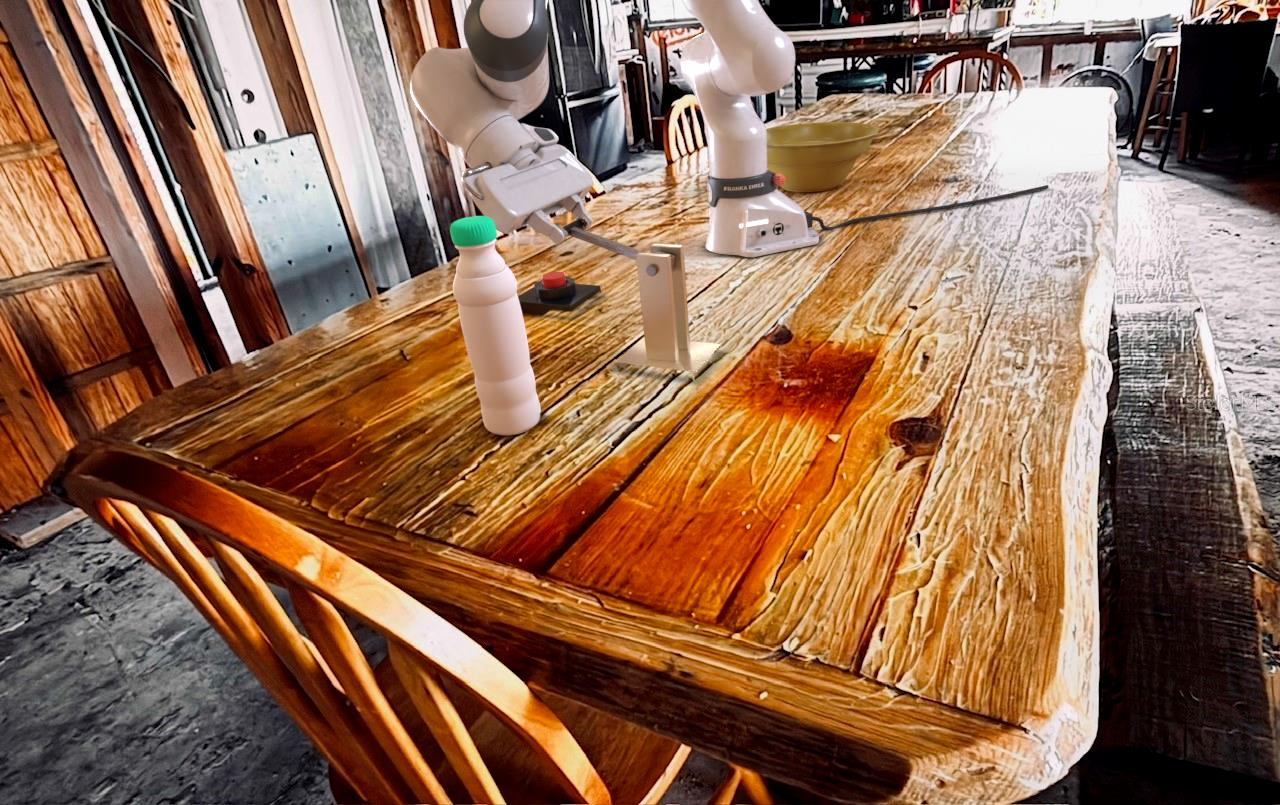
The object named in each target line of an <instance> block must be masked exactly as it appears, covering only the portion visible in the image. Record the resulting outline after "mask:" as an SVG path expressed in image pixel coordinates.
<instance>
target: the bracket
mask: <svg viewBox="0 0 1280 805" xmlns="http://www.w3.org/2000/svg"><path fill="white" fill-rule="evenodd" d="M656 249H657V250H660V251H663V252H666V253H669V254H652V252H654V251H655V250H656ZM684 249H685V248H684V245H683V244H668V243H667V244H665V243H652V244H651V245H649V250H650V252H649V253H648V252H646V253H639V254H637V255H636V260H635V261H636V269H637V278H638V288H639V298H640V307H641V317H642V328H643V336H642V337H641V338H640V339H639V340H638V341H637V342H636V343H635V344H634V345H632V346H631V348H629V349H628V350H627V351H625V353H623V354H622V355H621V356H620V357H619V358H618V359H617V360H615V363H620V364H627V365H628V364H629V365H638V366H645V367H652V368H659V369H667V370H675V371H682V372H689V373H697V372H698V371H699V370H700V369H701V368H702V367H703V365H704V364H706V362H707V361H708V360H709V359H710V358H711V357H712V356H713V355H714V353H716V351H717V350H718V349H719V348H720V346H721V345H722V344H720V343H711V342H703V341H702V342H701V341H692V340H691V337H690V336H691V335H690V324H689V323H690V322H689V308H688V296H687V295H688V294H687V293H688V292H687V278H686V266H685V251H684ZM670 254H671V255H674V256H676V257H675V262H674V267H673V272H672V268H671V255H670Z"/></svg>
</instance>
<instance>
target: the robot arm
mask: <svg viewBox="0 0 1280 805" xmlns="http://www.w3.org/2000/svg"><path fill="white" fill-rule="evenodd" d="M548 2H549V0H471V2H470V3H469V5H468V7H467V9H466V11H465V14H464V19H463V35H464V39H465V42H466V45H467V47H463V48H462V47H461V48H444V47H440V46H435V47H432V48H430V49H428V50H427V51H426V52H424V54H422V56H421V57H420V58H419V59H418V61H417V62H416V63H415V65H414V67H413V71H412V73H411V77H410V84H409V86H410V87H409V88H410V94H411V98H412V100H413V101H414V104H415V106H416V107H417V108H418V110H419V111H420V113H421V114H422V116H423V117H424V118H425V120H427V122H428V123H429V124H430V125H431V127H432V128H433V129H434V130H435V132H437V133H438V134H439V135H440V136H441V138H442V139H443V140H444V141H445V142H447V143H448V144H450V145H452V146H453V147H454V148H456V149H457V150H458V152H459V153H460V155H461V157H462V159H463V161H464V162H465V164H467V166H468V168H465V170H463V172H462V176H461V183H462V185H463V187H464V188H465V189H466V190H467V191H468V192H469V193H470V197H471V199H472V201H473V202H474V204H475V206H476V207H477V209H478V210H479V211H480V213H481V214H482V216H486V217H489V218H491V219H492V220H493V222H494V224H495V228H496V231H497V232H500V233H502V234H509V233H512V232H514V231H516V230H518V229H520V228H522V227H526V226H527V225H528V226H529V227H530V228H531V229H532V230H534V231H535V232H537V233H539V234H541V235H543V236H545V237H547V238H548V239H549V240H550V241H551V242H552V243H553V244H554V245H556V246H557V245H560V244H562V243H564V242H565V241H566V240H567V238H568V232H567V231H566V230H564V228H563V227H564V226H562V225H561V224H558V225H557V224H555V223H553V221H551V220H549V219H548V218H547V216H549V215H551V214H553V213H555V212H558V211H560V210H562V209H565V211H567V212H568V214H569V213H571V214H572V216H573V217H574V221H575V220H580V221H581V222H582V224H583V228H582V230H585V231H588V230H590V228H591V227H592V225H593V224H594V220H593V218H592V217H591V216H590V215H589V214H588V212H587V209H586V207H585V204H584V201H583V199H585V197H586V196H587V195H588V193H589V192H590V191H591V190H592V188H593V186H594V181H593V177H592V176H591V173H590V172H589V171H588V170H587V169H586V167H585V166H584V165H583V164H582V163H581V162H580V161H579V159H578V158H577V157H576V156H575V155H574V154H573V153H572V152H571V151H570V150H569V149H567V148H566V146H563V145H561V144H559V143H558V142H559V136H558V135H557V134H556V133H555V131H553V130H552V129H550V128H548V127H547V128H545V127H539V126H538V127H537V126H533V125H530V124H526V123H524V122H521V123H520V121H519V120H521V119H523V118H524V117H526V116H527V115H529V114H531V113H532V112H534V111H535V110H537V109H538V108H539V107H540V106H541V105H542V104H543V102H544V101H545V99H546V98H547V95H548V92H549V88H550V66H549V52H548V50H549V49H548V42H549V20H548V18H549V17H548V11H547V10H548V9H547V8H548V7H547V6H548ZM682 4H683V5H684V7H685V9H686V11H687V12H688V13H689V14H691V16H693V17H694V18H695V19H696V20H697V21H698V22H699V23H700V24H701V27H703V29H704V30H705V31H704V32H703V33H701V34H698V35H696V36H695V37H692V38H691V39H690V40H689V41H688V42H687V43H686V44H685V46H684V47H683V50H682V52H681V55H680V72H681V75H682V78H683V80H684V81H685V83H686V84H687V85H688V86H689V88H690V89H691V90H692V92H693V94H694V96H695V98H696V101H697V104H698V107H699V109H700V113H701V116H702V119H703V123H704V126H705V131H706V140H707V151H708V167H709V174H708V175H707V183H706V186H707V201H708V203H709V212H708V213H709V220H708V221H709V222H708V230H707V236H706V241H705V244H704V247H705V249H706V250H707V251H709V252H711V253H714V254H720V255H728V256H740V257H743V258H744V257H745V258H757V257H762V256H766V255H767V256H768V255H772V254H776V253H781V252H785V251H790V250H795V249H800V248H805V247H810V246H815V245H817V244H819V243H820V236H819V233H818V232H817V231H816V230H815V229H813V224H814V223H813V221H814V222H815V221H816V222H817V223H818V224H819V226H820V228H821V229H822V230H824V231H830V230H834V229H839V228H843V227H846V226H848V225H851V224H854V223H859V222H865V221H873V220H879V219H886V218H894V217H901V216H908V215H909V216H910V215H915V214H922V213H928V212H934V211H935V212H936V211H942V210H947V209H954V208H960V207H966V206H973V205H976V204H982V203H988V202H992V201H993V202H994V201H998V200H1003V199H1007V198H1011V197H1016V196H1021V195H1026V194H1030V193H1034V192H1039V191H1043V190H1044V191H1045V190H1047V189H1049V188H1050V186H1049V185H1048V184H1046V185H1042V186H1037V187H1034V188H1033V187H1032V188H1028V189H1024V190H1020V191H1019V190H1018V191H1015V192H1010V193H1005V194H1000V195H995V196H991V197H990V196H989V197H985V198H984V197H983V198H980V199H974V200H968V201H963V202H957V203H951V204H945V205H938V206H932V207H931V206H930V207H926V208H925V207H924V208H919V209H912V210H911V209H910V210H904V211H898V212H897V211H896V212H890V213H884V214H876V215H869V216H868V215H867V216H862V217H855V218H851V219H849V220H846V221H844V222H842V223H839V224H837V225H834V226H827V225H825V224H824V220H823V219H822V218H820V217H819V216H814V214H813V213H811V212H809V211H807V210H804V209H803V207H802V206H801V205H799V204H798V203H797V202H796V201H794V200H793V199H792V198H791V197H789V196H788V195H787V194H785V193H783V192H782V191H780V190H779V189H777V187H781V185H783V184H784V182H785V181H784V180H786V179H784V178H785V177H783V175H781V174H779V173H777V174H776V173H774V172H772V171H770V170H768V168H767V130H766V129H767V127H766V125H765V123H764V122H763V120H762V119H761V118H760V117H759V116H758V114H757V112H756V111H755V108H754V105H753V103H752V99H751V97H760V96H764V95H768V94H771V93H775V92H777V91H779V90H781V89H783V88H784V87H785V86H786V85H787V84H788V83H789V81H790V80H791V78H792V76H793V73H794V71H795V66H796V50H795V46H794V44H793V41H792V39H791V37H789V35H788V34H787V33H786V32H785V31H783V30H781V29H780V28H779V27H777V25H776V24H774V22H773V21H772V20H771V19H770V17H769V16H768V14H767V13H766V12H765V10H764V8H763V7H762V4H761V3H760V2H759V0H682Z"/></svg>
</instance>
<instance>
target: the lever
mask: <svg viewBox="0 0 1280 805" xmlns="http://www.w3.org/2000/svg"><path fill="white" fill-rule="evenodd" d="M562 227H563V228H564V230H566V231H567V232H568V237H572V238H575V239H577V240H580V241H583V242H586V243H588V244H592V245H594V246H596V247H600V248H602V249H605V250H608V251H611V252H613V253H616V254H619V255H622V256H624V257H626V258H629V259H632V260H635V261H637V260H636V255H637V254H639V253H647V252H646V251H643V250H640V249H637V248H634V247H632V246H628V245H627V244H624V243H621V242H617V241H615V240H613V239H609V238H607V237H604V236H601V235H598V234H596V233H593V232H591V231H588V230H582V228H583V224H582V222H581V221H580V220H575V219H574V221H572V222H569V223H567V224H566V225H564V226H562ZM568 237H567V238H568ZM652 254H669V253H666V252H663V251H660V250H657V249H656V250H655V251H654V252H652ZM670 255H671V254H670ZM675 257H676V256H674V255H671V268H672V272H673V267H674V262H675Z"/></svg>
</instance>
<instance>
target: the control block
mask: <svg viewBox="0 0 1280 805" xmlns="http://www.w3.org/2000/svg"><path fill="white" fill-rule="evenodd" d="M565 278H566V284H565V285H562V286H559V287H553V288H547V287H543V283H542V279H540V280H538V281H537V282H535V283H534V285H533V287H531V288H530V289H528V290H526V291H525V292H523V293H521V294H520V295H518V299H519V302H520V306H521V310H522V314H523V315H525V314H526V315H536V316H545V315H546V314H548V313H549V312H552V310H553V311H563V312H572V311H574V310H576V308H579V307H580V306H581V305H583V304H584V303H585V302H587V301H588V300H590V299H591V298H593V297H594V296H595V295H597V294H599V293H601V292H602V288H601V285H596V284H585V283H576V280H575V278H573V277H571V276H565Z"/></svg>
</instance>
